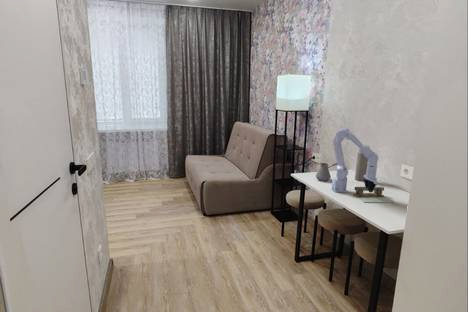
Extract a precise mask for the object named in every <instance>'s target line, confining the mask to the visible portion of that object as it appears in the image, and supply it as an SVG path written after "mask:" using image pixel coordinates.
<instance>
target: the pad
mask: <svg viewBox="0 0 468 312" xmlns="http://www.w3.org/2000/svg"><path fill="white" fill-rule="evenodd" d="M358 199H359V200H360V201H362V202H363V203H365V204H366V203H378V204H379V203H395V200H393V199H391V198H390V197H358Z"/></svg>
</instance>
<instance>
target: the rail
mask: <svg viewBox="0 0 468 312" xmlns="http://www.w3.org/2000/svg"><path fill="white" fill-rule="evenodd" d="M359 189H363V192H366V191H368V192H369V187H365V186H354V190H355V192H356V191H359ZM378 189H382V192H385V187H383V186H375V188H374V190H373V192H374V191H378Z"/></svg>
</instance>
